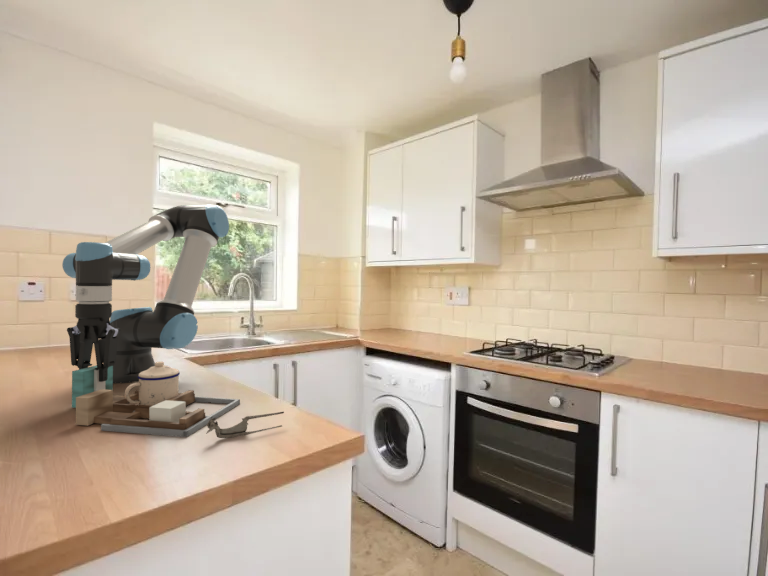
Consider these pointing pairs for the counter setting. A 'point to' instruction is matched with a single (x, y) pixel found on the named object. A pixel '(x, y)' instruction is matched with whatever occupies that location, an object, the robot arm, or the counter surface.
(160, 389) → the teacup with lid
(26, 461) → the counter surface
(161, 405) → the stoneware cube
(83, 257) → the robot arm
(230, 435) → the nutcracker
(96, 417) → the sled
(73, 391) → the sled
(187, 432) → the lane rails
